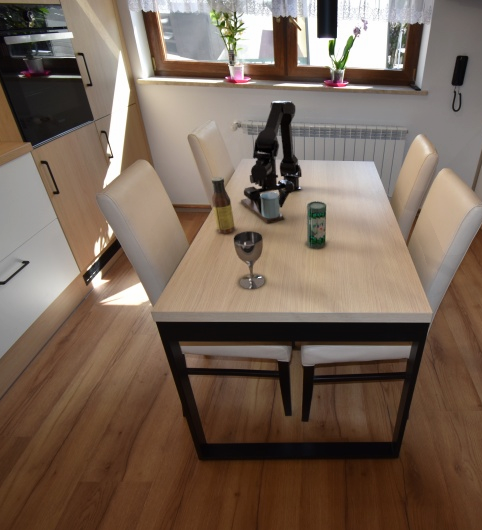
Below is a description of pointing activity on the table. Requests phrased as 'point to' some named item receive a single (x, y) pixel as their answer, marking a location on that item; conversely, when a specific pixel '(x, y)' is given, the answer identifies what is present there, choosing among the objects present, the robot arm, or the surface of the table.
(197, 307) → the table surface
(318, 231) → the can
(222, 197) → the sauce bottle
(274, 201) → the cup
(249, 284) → the wine glass
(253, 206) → the rack
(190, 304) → the table surface
